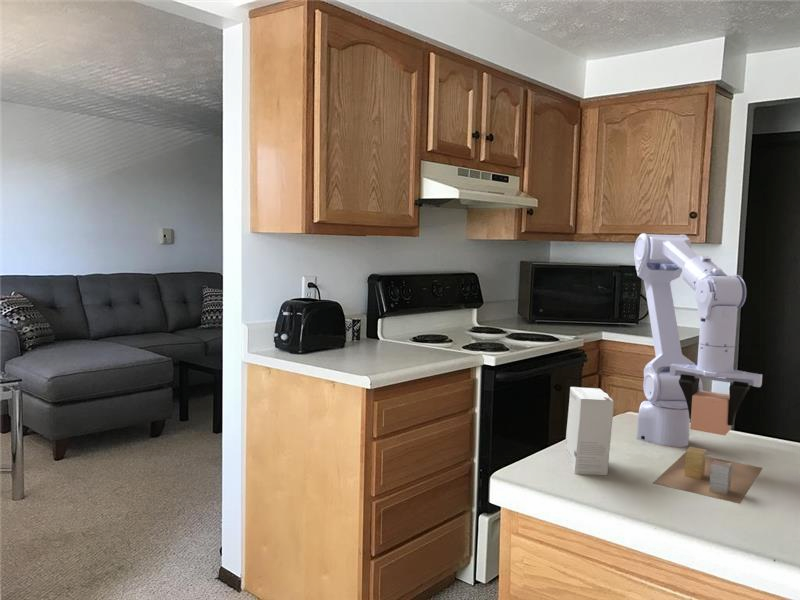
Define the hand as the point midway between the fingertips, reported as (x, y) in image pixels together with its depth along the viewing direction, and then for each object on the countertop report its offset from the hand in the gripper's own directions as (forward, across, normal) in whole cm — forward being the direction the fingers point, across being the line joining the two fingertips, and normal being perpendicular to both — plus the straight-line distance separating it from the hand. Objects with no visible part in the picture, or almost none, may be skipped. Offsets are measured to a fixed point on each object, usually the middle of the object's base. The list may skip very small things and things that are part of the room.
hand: (711, 421), depth 117 cm
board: (+10, +1, -4) cm, 11 cm away
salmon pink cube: (+1, 0, 0) cm, 1 cm away
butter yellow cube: (+8, -1, -6) cm, 10 cm away
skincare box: (+10, -17, -14) cm, 24 cm away
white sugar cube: (+8, +4, -11) cm, 14 cm away
